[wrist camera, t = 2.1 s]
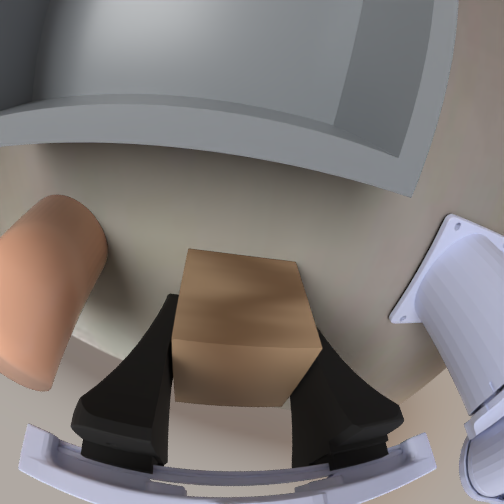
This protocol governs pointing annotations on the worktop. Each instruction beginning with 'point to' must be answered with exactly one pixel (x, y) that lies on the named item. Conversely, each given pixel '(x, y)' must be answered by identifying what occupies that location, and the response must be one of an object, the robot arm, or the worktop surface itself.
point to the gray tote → (234, 79)
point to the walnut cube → (241, 331)
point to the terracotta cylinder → (46, 286)
